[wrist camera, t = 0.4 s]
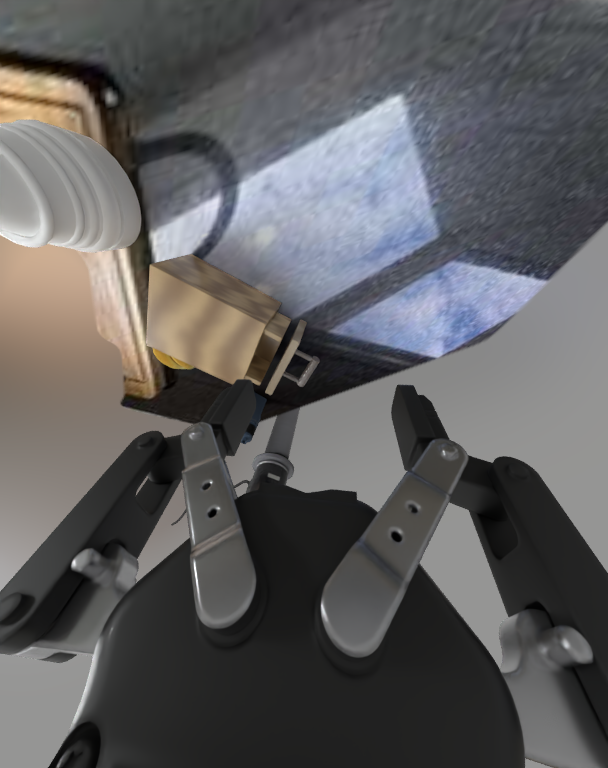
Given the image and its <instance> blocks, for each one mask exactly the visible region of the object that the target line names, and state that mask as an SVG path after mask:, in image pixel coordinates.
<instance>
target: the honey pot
mask: <svg viewBox="0 0 608 768" xmlns="http://www.w3.org/2000/svg"><path fill="white" fill-rule="evenodd" d="M140 228H141V212H140V205H139V202H138V199H137V196H136V192H135V190H134V188H133V186H132V184H131V182H130V180H129V178H128V176H127V174H126V173H125V171H124V170H123V169H122V167H121V166H120V164H119V163H118V161H117V160H116V159H115V158H114V157H113V156H112V155H111V154H110V153H109V152H108V151H107V150H106V149H105V148H104V147H103V146H102V145H100V144H99V143H97V142H96V141H94V140H93V139H91V138H90V137H87V136H85V135H82V134H79V133H76V132H73V131H70V130H67V129H64V128H60V127H57V126H54V125H50V124H47V123H43V122H40V121H37V120H16V121H15V122H13V123H3V124H0V235H2V236H3V237H5V238H7V239H9V240H11V241H12V242H14V243H17V244H20V245H23V246H26V247H41V246H44V245H46V244H51V245H54V246H61V247H67V248H72V249H75V250H78V251H81V252H99V251H100V252H102V251H109V250H116V249H122V248H125V247H128V246H130V245H131V244H133V243H134V242H135V241H136V239H137V237H138V235H139V233H140ZM21 235H22V236H21ZM24 236H25V237H24Z"/></svg>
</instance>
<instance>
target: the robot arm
mask: <svg viewBox="0 0 608 768" xmlns="http://www.w3.org/2000/svg"><path fill="white" fill-rule="evenodd" d="M255 409H256V398H255V393H254V389H253V384H252V381H251V380H249V379H237V380H236V381H235V382H234V384H233V385H232V387H228V388H226V389H225V390H224V391H222V392H221V393H220V394H219V396H218V397H217V399H216V400H215V402H214V403H213V405H212V406H211V407H210V409H209V410H208V411H207V413H206V414H205V416H204V417H203V419H202V420H201V421H200V423H196V424H193V425H191V426H189V427H188V428H187V429H185V431H183V433H182V434H181V435H178V436H172V437H167V438H164V436H163V435H162V433H161V432H159V431H150V432H146V433H144V434H142V435H140V436H138V437H137V438H135V439H134V440H133V441H132V442H131V443H130V445H129V446H128V447H127V448H126V449H125V450H124V452H123V453H122V454H121V455H120V456H119V457H118V458H117V459H116V461H115V462H114V463H113V464H112V465H111V466H110V467H109V469H108V470H107V471H106V472H105V473H104V474H103V475H102V477H101V478H100V479H99V480H98V481H97V482H96V483H95V485H94V486H93V487H92V488H91V489H90V490H89V491H88V492H87V494H86V495H85V496H84V497H83V498H82V499H81V501H80V502H79V503H78V504H77V505H76V506H75V507H74V508H73V510H72V511H71V512H70V513H69V514H68V515H67V516H66V518H65V519H64V520H63V521H62V522H61V523H60V524H59V526H58V527H57V528H56V529H55V530H54V531H53V532H52V533H51V535H50V536H49V537H48V538H47V539H46V541H45V542H44V543H43V544H42V545H41V546H40V547H39V548H38V549H37V551H36V552H35V553H34V554H33V555H32V556H31V557H30V559H29V560H28V561H27V562H26V563H25V564H24V565H23V567H22V568H21V569H20V570H19V571H18V572H17V573H16V575H15V576H14V577H13V578H12V579H11V580H10V581H9V583H8V584H7V585H6V586H5V587H4V588H3V589H2V590H1V592H0V653H1V654H7V655H14V656H19V657H25V658H32V659H38V660H44V661H50V662H56V663H62V662H65V661H68V660H70V659H72V658H73V657H74V656H76V655H77V654H80V655H87V656H93V660H92V664H91V668H90V673H89V676H88V680H87V683H86V687H85V690H84V693H83V696H82V699H81V702H80V705H79V707H78V710H77V712H76V715H75V717H74V720H73V722H72V725H71V727H70V730H69V732H68V734H67V736H66V738H65V740H64V742H63V744H62V746H61V747H60V749H59V751H58V753H57V754H56V756H55V758H54V759H53V761H52V762H51V764H50V766H49V767H48V768H525V758H526V759H529V760H532V761H535V762H538V763H541V764H544V765H547V766H550V767H553V768H608V573H607V572H606V570H605V569H604V567H603V566H602V564H601V563H600V562H599V560H598V559H597V557H596V556H595V554H594V553H593V552H592V550H591V549H590V547H589V546H588V544H587V543H586V542H585V540H584V539H583V537H582V536H581V535H580V533H579V532H578V530H577V529H576V527H575V526H574V525H573V523H572V521H571V520H570V519H569V517H568V516H567V514H566V513H565V512H564V510H563V509H562V507H561V506H560V504H559V503H558V501H557V500H556V498H555V497H554V496H553V494H552V493H551V491H550V490H549V488H548V487H547V486H546V484H545V483H544V481H543V480H542V478H541V477H540V476H539V474H538V473H537V472H536V471H535V470H534V469H533V468H532V467H530V466H529V465H528V464H526V463H524V462H522V461H520V460H518V459H515V458H512V457H504V456H503V457H498V458H496V459H495V460H494V462H493V463H491V462H487V461H484V460H481V459H477V458H474V457H471V456H469V455H468V454H467V453H466V451H465V450H464V449H463V448H462V447H461V446H460V445H459V444H457V443H455V442H453V441H451V440H449V438H448V435H447V433H446V431H445V429H444V427H443V425H442V423H441V421H440V419H439V417H438V415H437V413H436V411H435V409H434V407H433V405H432V403H431V401H430V400H428V399H427V398H426V397H425V396H424V395H418V394H417V392H416V390H415V387H414V386H413V385H397V387H396V391H395V396H394V400H393V404H392V412H391V413H392V420H393V425H394V429H395V432H396V437H397V440H398V445H399V448H400V453H401V457H402V461H403V465H404V469H405V470H406V471H408V472H406V474H405V475H404V477H403V478H402V480H401V481H400V482H399V484H398V485H397V486H396V488H395V489H394V491H393V492H392V494H391V495H390V496H389V498H388V499H387V501H386V502H385V504H384V505H383V506H382V508H381V509H380V511H379V512H377V511H376V510H374V509H373V508H372V507H370V506H369V505H367V504H365V503H363V502H361V501H358V500H357V493H356V492H352V491H342V490H325V491H319V492H312V493H304V492H302V491H299V490H296V489H294V488H291V487H289V486H286V481H287V477H288V474H289V470H288V468H287V467H286V466H285V465H284V464H282V463H281V462H278V461H276V460H270V459H266V460H262V461H260V462H258V464H257V466H256V470H255V473H254V476H253V479H252V480H251V481H250V482H249V481H247V480H244V481H242V482H240V483H238V484H237V485H235V486H233V483H232V480H231V477H230V474H229V471H228V468H227V465H226V462H225V457H226V455H227V456H234V455H235V453H236V451H237V449H238V447H239V444H240V442H241V440H242V438H243V436H244V434H245V432H246V429H247V427H248V425H249V423H250V421H251V419H252V416H253V414H254V412H255ZM146 476H148V479H147V481H146V482H145V484H144V485H143V487H142V488H141V490H140V491H139V492H138V494H137V495H136V492H137V489H138V488H139V486H140V485H141V483H142V482H143V481H144V479H145V478H146ZM181 479H182V480H183V488H184V495H185V503H186V510H185V511H184V513H183V514H182V516H181V517H180V518H179V519H178V520H177V521H176V522H174V523H173V524H172V525H174V524H176V523H177V522H178V521H180V519H181V518H182V517H183V516H184V514H185V513H186V511H187V518H188V526H189V534H190V538H189V539H188V540H186V541H185V542H184V543H183V544H182V545H180V546H179V547H178V548H177V549H176V550H175V551H174V552H172V553H171V554H170V555H169V556H168V557H166V558H165V559H164V560H163V561H162V562H160V563H159V564H158V565H157V566H156V567H155V568H153V569H152V570H151V571H150V572H149V573H147V574H146V575H145V576H144V577H143V578H142V579H140V580H139V581H138V582H137V583H136V575H137V572H138V561H137V558H138V557H139V555H140V553H141V551H142V549H143V548H144V546H145V544H146V542H147V540H148V538H149V537H150V535H151V533H152V532H153V530H154V528H155V526H156V524H157V523H158V521H159V519H160V517H161V515H162V514H163V512H164V510H165V508H166V506H167V505H168V503H169V501H170V499H171V497H172V495H173V494H174V492H175V490H176V488H177V487H178V485H179V483H180V481H181ZM243 483H248V488H247V491H246V492H247V493H246V494H243V495H242V496H240V497H237V495H236V492H235V489H234V488H236V487H238V486H239V485H241V484H243ZM449 502H450V503H452V504H455V505H457V506H460V507H463V508H465V509H468V510H469V512H470V515H471V517H472V520H473V523H474V525H475V528H476V531H477V533H478V536H479V539H480V542H481V544H482V547H483V549H484V552H485V555H486V558H487V560H488V563H489V566H490V568H491V571H492V574H493V577H494V579H495V582H496V584H497V587H498V590H499V593H500V595H501V598H502V601H503V603H504V606H505V609H506V612H507V614H508V617H509V618H507V619H505V620H504V621H503V622H502V623H501V625H500V628H499V639H500V643H501V648H502V654H503V659H502V665H501V668H500V669H499V667H498V666H497V664H496V662H495V661H494V659H493V657H492V656H491V655H490V653H489V651H488V650H487V649H486V647H485V646H484V645H483V643H482V642H481V641H480V640H479V638H478V637H477V636H476V635H475V633H474V632H473V631H472V630H471V628H470V627H469V626H468V625H467V623H466V622H465V621H464V619H463V618H462V617H461V616H460V615H459V613H458V612H457V610H456V609H455V608H454V607H453V605H452V604H451V603H450V602H449V600H448V599H447V598H446V596H445V595H444V594H443V593H442V591H441V590H440V589H439V588H438V586H437V585H436V584H435V582H434V581H433V580H432V579H431V577H430V576H429V575H428V574H427V572H426V571H425V570H424V568H423V567H422V566H421V565H420V563H419V562H420V560H421V558H422V556H423V554H424V552H425V550H426V548H427V546H428V544H429V541H430V540H431V538H432V536H433V534H434V532H435V530H436V528H437V526H438V523H439V521H440V519H441V517H442V515H443V513H444V511H445V509H446V507H447V505H448V503H449Z"/></svg>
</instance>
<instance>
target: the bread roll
mask: <svg viewBox="0 0 608 768" xmlns="http://www.w3.org/2000/svg"><path fill="white" fill-rule="evenodd" d="M153 352H154V354H155V356H156V357H157V359H158V360H159V361H161V362H162V363H163V364H165V365H167V366H169V367H171V368H175V369H192V368H194V366H191V365H189V364H187V363H185V362H183V361H180V360H178V359H176V358H174V357H172V356H170V355H167V354H165V353H163V352H161V351H159V350H157V349H154V348H153Z"/></svg>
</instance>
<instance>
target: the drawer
mask: <svg viewBox="0 0 608 768" xmlns="http://www.w3.org/2000/svg"><path fill="white" fill-rule="evenodd" d="M290 322H291V319H289V318H288V317H286V316H284V315H282V314H280V313H278V312H276V313H275V314H274V316H273V317H272V319H271V320H270V322H269V323H268V324H267V326H266V327H265V330H264V332H263V335H262V337H261V340H260V342H259V344H258V347H257V349H256V352H255V354H254V357H253V359H252V361H251V364H250V366H249V369H248V371H247V374H246V376H245V378H244V379H249V380H251V381H252V382H253V383H255V384H257V385H259V386H260V384H261V382H262V380H263V378H264V376H265V374H266V372H267V370H268V368H269V366H270V364H271V362H272V360H273V357H274V355H275V353H276V351H277V349H278V347H279V345H280V343H281V341H282V339H283V337H284V335H285V333H286V330H287V328H288V326H289V324H290ZM306 324H307V322H305V321H303V320H301V319H300V321H299V323H298V325H297V327H296V329H295V331H294V333H293V335H292V337H291V339H290V341H289V343H288V345H287V347H286V349H285V351H284V353H283V355H282V357H281V359H280V361H279V363H278V365H277V367H276V369H275V371H274V373H273V376H272V378H271V380H270V382H269V385H268V387H267V389H266V391H265V393H267V394H269V395H272V393H273V391H274V390H275V388H276V386H277V384H278V382H279V380H280V379H281V377H282V376H285V377H287V378H289V379H291V380H293V381H295V382H297V384H298V385H299V386H300V387H304V385H305V384H306V382H307V381H308V379H309V378H310V376H311V374H312V373H313V371H314V370H315V368H316V367H317V365H318V364H319V362H320V359H319V358H318V357H316V356H313V357H311V356H309V355H307V354H305V353H303V352H301V351H299V350H297V347H298V345H299V344H300V341H301V338H302V335H303V332H304V329H305V327H306ZM294 353H295V354H297V355H299V356H301V357H302V358H304V359H306V360H308V361H310V362H309V364H308V365H307V367H306V368H305V370H304V372H303V373H302V375H301V377H300V378H297V377H295V376H293V375H291V374H289V373H287V372H285V369H286V368H287V366H288V364H289V362H290V360H291V358H292V356H293V355H294Z"/></svg>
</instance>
